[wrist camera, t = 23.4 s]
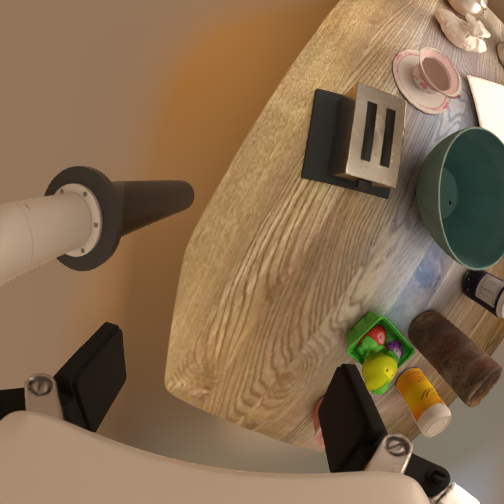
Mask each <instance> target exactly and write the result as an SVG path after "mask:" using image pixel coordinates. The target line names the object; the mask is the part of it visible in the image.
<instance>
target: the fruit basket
mask: <svg viewBox="0 0 504 504" xmlns="http://www.w3.org/2000/svg"><path fill="white" fill-rule="evenodd" d="M414 352H415V348H414V347H413V346H412V345H411V344H410V343H409V342H408V341H407V340H406V339H405V338H404V337H403V336H402V334H401V333H400V332H399V331H398V330H397V329H396V328H395V327H394V326H393V325H392V324H391V323H390V322H389V320H388V319H387V318H385V317H383V316H379V315H377V314H374V313H372V312H370V311H369V312H368V313H367V314H366V316H365V317H363V318H362V319H361V320H360V321H359V322H358V323H357V324H356V325H355V326H354V327H353V329H351V330H349V331H348V347H347V353H348V354H349V355H350V356H352V357H353V358H354V359H356V360H357V361H358V362H359V363H360V364H362V365H363V366H362V375H363V378H364V380H365V386H366V388H367V390H369V391H371V392H372V394H377V395H381V394H384V393H385V392H386V390H387V389H388V387H389V383H390V382H391V381H392V379H393V378H394V376H395V374H396V372H397V369H398V368H399V367H400V366H401V365H403V364H404V363H405V362H406V361H407V360H408V359H409V358H410V357H411V356H412V355H413V354H414Z"/></svg>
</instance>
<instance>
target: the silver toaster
mask: <svg viewBox="0 0 504 504" xmlns="http://www.w3.org/2000/svg"><path fill="white" fill-rule="evenodd" d="M405 113H406V100H404V99H401V98H399V97H397V96H394V95H392V94H389V93H387V92H384V91H381V90H379V89H376V88H373V87H370V86H367V85H364V84H361V83H357V84H356V85H354V86H353V87H352V88H351V89H350V90H349V91H348V92H347V93H346V94H345V95H344V96H343V97H342V98H341V99H340V100H339V102H338V109H337V117H336V124H335V130H334V137H333V143H332V149H331V156H330V161H329V167H328V173H327V175H328V176H332V177H336V178H340V179H344V180H348V181H352V182H355V188H358V189H362V190H365V191H370V187H371V186H373V187H386V188H396V185H397V179H398V173H399V167H400V160H401V152H402V144H403V135H404V125H405Z"/></svg>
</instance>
